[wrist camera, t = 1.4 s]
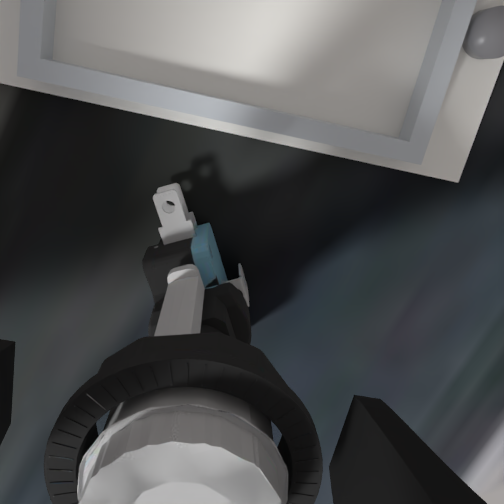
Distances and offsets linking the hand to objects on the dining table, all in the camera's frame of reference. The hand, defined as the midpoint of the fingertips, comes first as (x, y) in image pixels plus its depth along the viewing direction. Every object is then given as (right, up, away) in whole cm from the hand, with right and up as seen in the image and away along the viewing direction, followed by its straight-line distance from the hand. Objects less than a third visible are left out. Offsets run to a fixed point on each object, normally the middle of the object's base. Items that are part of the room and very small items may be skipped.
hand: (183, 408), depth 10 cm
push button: (0, +3, +7) cm, 8 cm away
